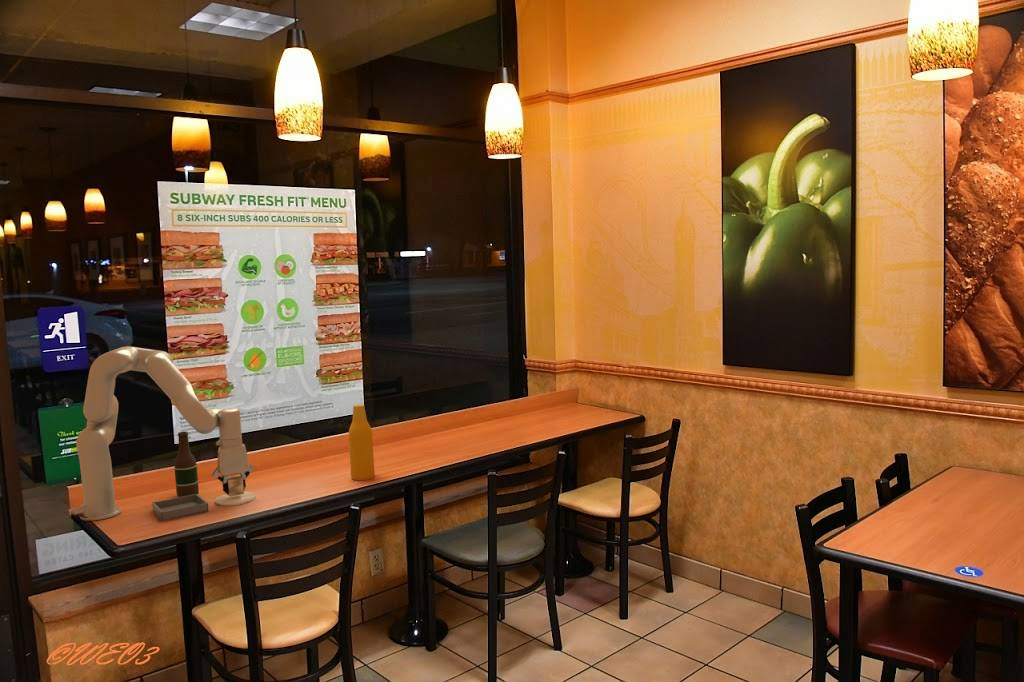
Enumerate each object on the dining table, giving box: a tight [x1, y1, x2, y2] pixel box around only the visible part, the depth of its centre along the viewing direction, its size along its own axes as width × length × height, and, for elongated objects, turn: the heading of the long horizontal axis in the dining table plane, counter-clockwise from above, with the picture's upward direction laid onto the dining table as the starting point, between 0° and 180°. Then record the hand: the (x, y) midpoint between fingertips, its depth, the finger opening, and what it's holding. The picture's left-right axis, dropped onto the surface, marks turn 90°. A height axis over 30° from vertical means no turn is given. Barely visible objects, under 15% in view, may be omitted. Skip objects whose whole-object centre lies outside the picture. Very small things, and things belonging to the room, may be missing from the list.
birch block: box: [227, 474, 245, 497], centre depth 281 cm, size 5×5×6 cm
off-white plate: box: [214, 491, 257, 507], centre depth 281 cm, size 14×14×1 cm
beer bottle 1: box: [173, 431, 200, 498], centre depth 290 cm, size 8×8×24 cm
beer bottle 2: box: [348, 404, 376, 482], centre depth 304 cm, size 9×9×29 cm
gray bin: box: [151, 493, 209, 522], centre depth 270 cm, size 15×15×3 cm
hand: (234, 491), depth 281 cm, fingers closed on birch block, 5 cm apart
